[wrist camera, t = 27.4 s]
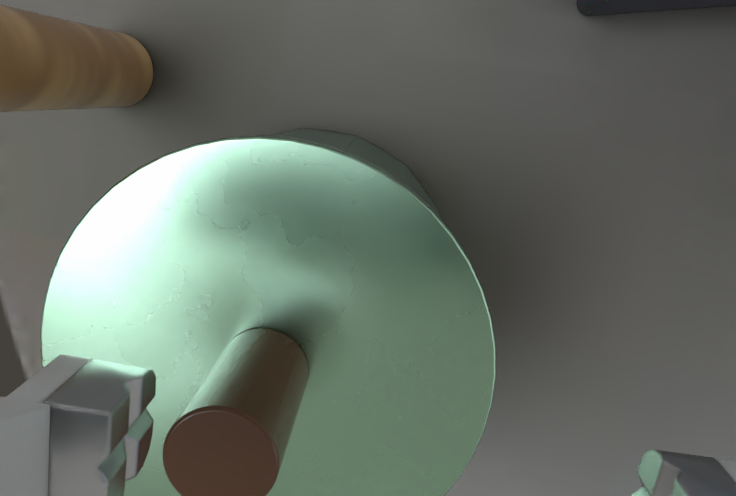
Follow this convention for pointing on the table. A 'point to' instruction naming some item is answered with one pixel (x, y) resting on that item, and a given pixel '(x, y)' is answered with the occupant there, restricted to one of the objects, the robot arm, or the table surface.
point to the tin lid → (281, 322)
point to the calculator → (643, 5)
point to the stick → (67, 64)
